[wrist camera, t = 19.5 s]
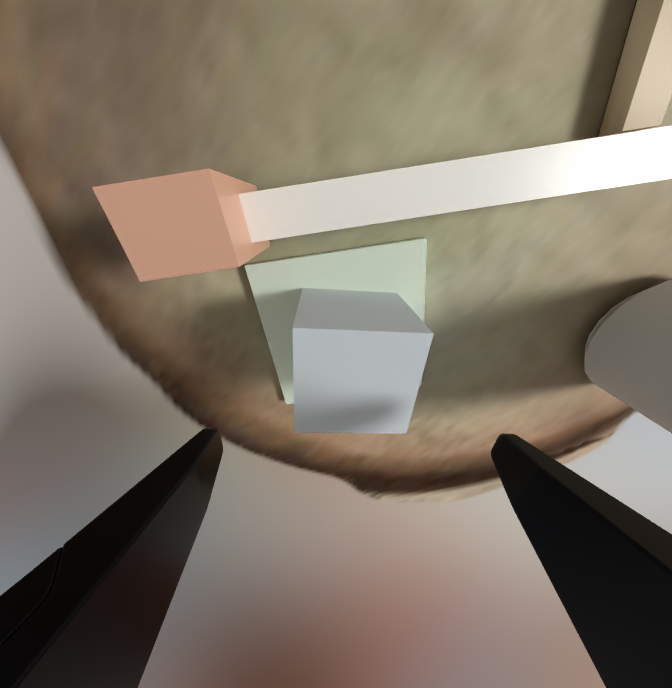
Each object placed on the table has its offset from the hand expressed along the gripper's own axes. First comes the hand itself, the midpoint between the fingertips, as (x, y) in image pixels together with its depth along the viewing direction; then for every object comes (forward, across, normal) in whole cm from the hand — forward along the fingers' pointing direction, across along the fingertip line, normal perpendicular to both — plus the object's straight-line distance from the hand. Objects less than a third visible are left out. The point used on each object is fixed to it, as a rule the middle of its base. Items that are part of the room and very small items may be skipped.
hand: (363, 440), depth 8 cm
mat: (+8, 0, 0) cm, 8 cm away
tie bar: (+8, -3, -7) cm, 11 cm away
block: (+7, 0, 0) cm, 7 cm away
